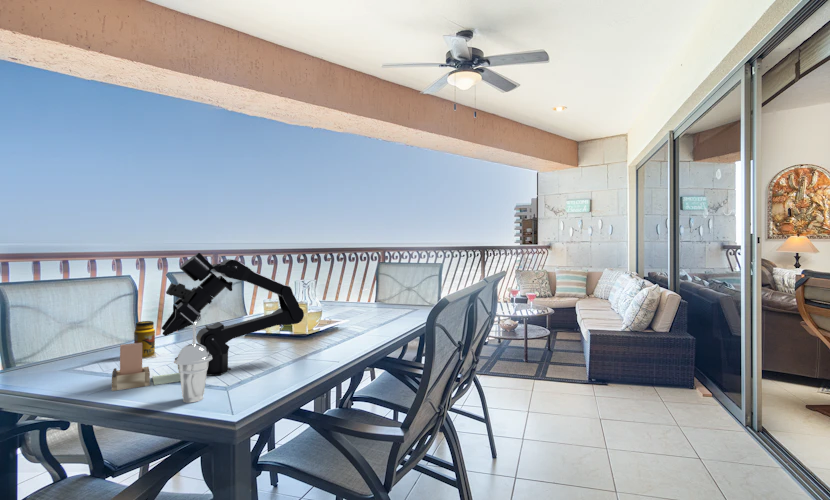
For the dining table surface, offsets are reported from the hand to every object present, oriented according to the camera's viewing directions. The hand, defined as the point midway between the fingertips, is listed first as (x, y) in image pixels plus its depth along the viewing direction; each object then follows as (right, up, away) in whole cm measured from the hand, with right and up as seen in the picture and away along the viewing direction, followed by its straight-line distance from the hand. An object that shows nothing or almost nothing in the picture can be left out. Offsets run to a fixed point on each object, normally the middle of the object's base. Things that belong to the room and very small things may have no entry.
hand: (163, 332), depth 120 cm
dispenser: (-6, -14, -5) cm, 16 cm away
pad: (+1, -14, 0) cm, 14 cm away
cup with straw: (+17, -14, -15) cm, 27 cm away
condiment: (-23, -14, +25) cm, 37 cm away
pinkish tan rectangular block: (-6, -14, -5) cm, 16 cm away
